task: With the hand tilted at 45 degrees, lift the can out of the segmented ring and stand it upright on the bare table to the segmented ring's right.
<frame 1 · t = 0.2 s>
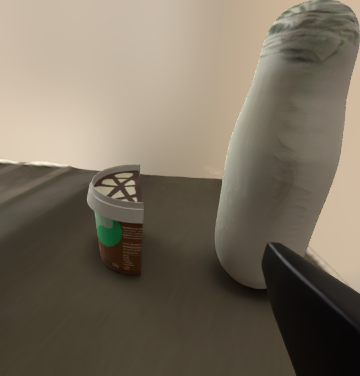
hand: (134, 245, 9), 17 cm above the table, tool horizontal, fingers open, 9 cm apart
food container: (115, 251, 34), on the table
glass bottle: (248, 274, 32), on the table
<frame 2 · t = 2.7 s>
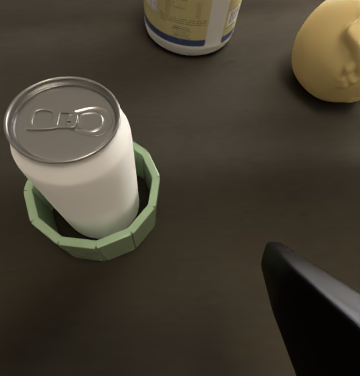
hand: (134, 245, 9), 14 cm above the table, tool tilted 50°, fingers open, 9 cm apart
sculpture: (323, 84, 34), on the table
segmented ring: (104, 205, 24), on the table
supplement tub: (187, 32, 36), on the table
can: (104, 206, 24), resting in segmented ring
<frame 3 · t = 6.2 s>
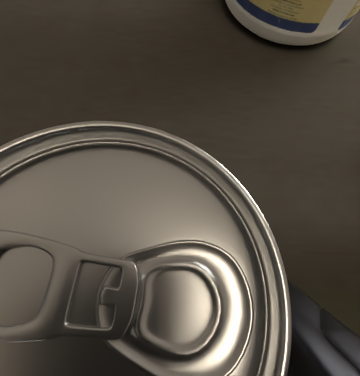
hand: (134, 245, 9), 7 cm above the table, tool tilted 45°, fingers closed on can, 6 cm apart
supplement tub: (281, 8, 25), on the table
can: (140, 288, 15), resting in segmented ring, touching gripper
when the fingers open (7 cm above the table, at t = 14.0 s): can stays where it is, on the table.
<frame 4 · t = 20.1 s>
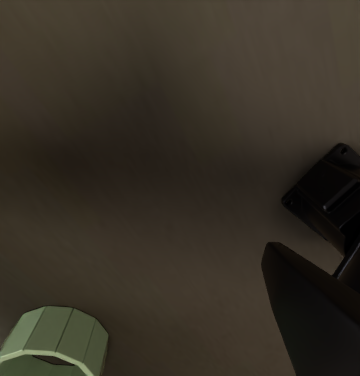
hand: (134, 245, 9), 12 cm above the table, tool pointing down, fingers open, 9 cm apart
segmented ring: (61, 339, 28), on the table
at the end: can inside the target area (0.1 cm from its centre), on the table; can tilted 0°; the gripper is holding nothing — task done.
